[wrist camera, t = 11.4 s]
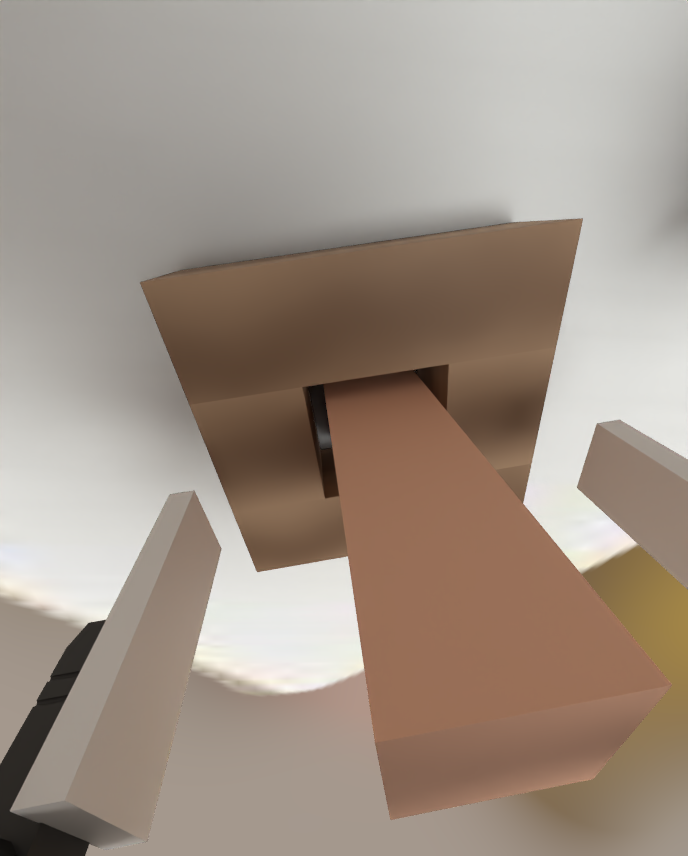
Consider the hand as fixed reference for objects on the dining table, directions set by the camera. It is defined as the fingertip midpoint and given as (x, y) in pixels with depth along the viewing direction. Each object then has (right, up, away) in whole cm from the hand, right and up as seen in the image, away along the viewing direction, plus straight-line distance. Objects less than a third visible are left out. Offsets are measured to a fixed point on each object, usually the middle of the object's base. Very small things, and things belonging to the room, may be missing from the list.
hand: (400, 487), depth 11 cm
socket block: (-1, +4, +6) cm, 7 cm away
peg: (-1, +4, +6) cm, 7 cm away
